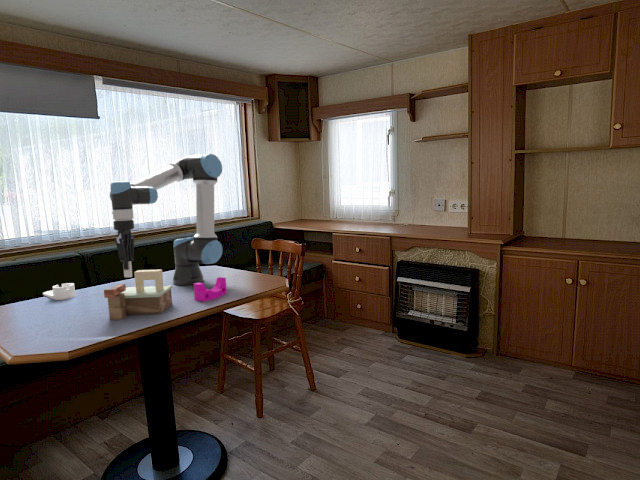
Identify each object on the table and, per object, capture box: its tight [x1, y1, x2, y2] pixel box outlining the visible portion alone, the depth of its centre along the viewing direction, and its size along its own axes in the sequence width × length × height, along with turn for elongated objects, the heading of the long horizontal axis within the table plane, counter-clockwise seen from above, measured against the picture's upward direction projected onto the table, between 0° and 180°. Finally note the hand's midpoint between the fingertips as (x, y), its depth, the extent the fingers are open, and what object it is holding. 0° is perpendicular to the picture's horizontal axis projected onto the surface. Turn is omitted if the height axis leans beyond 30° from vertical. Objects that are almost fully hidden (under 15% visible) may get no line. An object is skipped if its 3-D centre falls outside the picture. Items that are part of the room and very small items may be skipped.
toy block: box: [193, 276, 228, 302], centre depth 191 cm, size 15×6×8 cm, turn 143°
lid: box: [122, 269, 173, 298], centre depth 173 cm, size 15×19×9 cm
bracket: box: [42, 282, 76, 301], centre depth 201 cm, size 20×9×7 cm, turn 53°
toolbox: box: [107, 288, 173, 321], centre depth 172 cm, size 20×18×9 cm
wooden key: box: [103, 283, 127, 299], centre depth 163 cm, size 11×3×3 cm, turn 0°
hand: (128, 276), depth 175 cm, fingers closed
